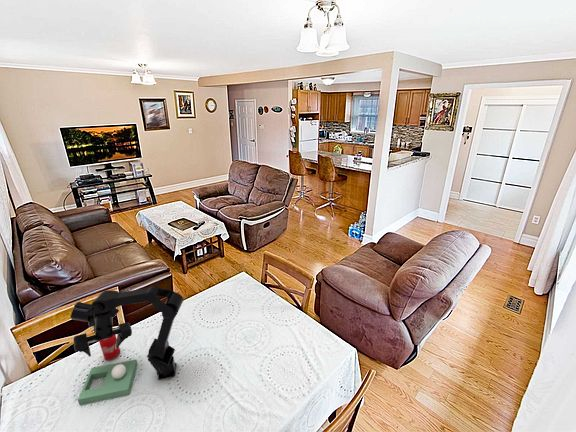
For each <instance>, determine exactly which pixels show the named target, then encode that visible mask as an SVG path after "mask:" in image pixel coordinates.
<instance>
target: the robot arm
mask: <svg viewBox="0 0 576 432" xmlns="http://www.w3.org/2000/svg"><path fill="white" fill-rule="evenodd" d="M159 297H165V298H167V299H166V300H165V303H164V302H163V301H161V299H160V298H159ZM146 302H148V303H150V304H152V306H153V307H154V308H155V309H156V311H158V312H160V313H161V316H162V322H161V325H160V328H159V331H158V335H157V338H154V339H153V341H152V343H151V344H150V347H149V349H148V351H147V352H148V353H147V356H146V358H147V361H148V362H149V363H150V364H151V366H152V367H153V368H154V370H155V371H156V375H157V380H165V379H168V378H173V377H176V368H177V362H176V361H175V358H174V353H175V352H176V349H175V348H174V347H172V346H170V343H169V337H170V334H171V330H172V327H173V325H174V321H175V318H176V317H177V315H178V313H179V311H180V309H181V307H182V305H183V303H184V297H183V296H182V295H181V294H180V293H178V292H175V290H172V289H167V288H161V287H158V286H156V285H153V286H152V285H151V286H150V287H145V288H140V289H139V288H138V289H134V290H128V291H121V292H120V291H117V290H104V291H102V292H101V293H100V294H99V295H98V296H97V297H96V298H95V299H94V301H92V303H85V302H81V301H77V302H76V303H75V304H74V308H73V309H72V311H71V314H70V320H74V321H80V322H88V323H87V324H88V327H89V328H92V327H93V333H94V335H91V336H88V335H87V333H86V332H85V333H82V334H77V335H75V336H73V348H74V352H77V353H78V352H79V353H82V352H83V353H85V354H86V355H87V356H88V357H92V354H91V350H90V345H89V344H91V343H95V342H99V341H100V340H103V339H107V338H110V337H112V335H117V336H116V338H117V341H116V348H118V347H119V348H120V345H121V344H123V342H124V341H125V340H127V339H128V338H129V337H131V336H132V334H133V329H132V325H131V324H130V322H129V321H127V322H123V323H119V324H118V325H117V327H115V328H113V326H114V325H113V323H114V322H113V320H114V319H113V318H115V317H117V314H118V313H119V312H120V309H118V307H123V306H128V305H134V304H141V303H146Z"/></svg>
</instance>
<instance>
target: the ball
mask: <svg viewBox="0 0 576 432" xmlns="http://www.w3.org/2000/svg"><path fill="white" fill-rule="evenodd" d="M125 372H126V367H125V366H124V365H122V364H119V365H116V366H115V367H114V368H113V369H112V372H111V374H112V377H113V378H116V379H118V378H121V377H122V376H123V375H124V374H125Z"/></svg>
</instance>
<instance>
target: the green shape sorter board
mask: <svg viewBox="0 0 576 432" xmlns="http://www.w3.org/2000/svg"><path fill="white" fill-rule="evenodd" d="M119 364H122V365H124V366H125V367H126V372H125V374H124V375H123V376H122V377H121V378H118V379H116V378H113V377H112V374H111V372H112V369H113V368H114V367H115V366H116V365H119ZM138 364H139V363H138V361H137V359H131V360H126V361H120V362H114V363H111V364H110V363H109V364H105V365H100V366H94V367H91V369H90V371H89V373H88V376H87V377H86V380H85V382H84V384H83V387H82V389H81V391H80V393H79V396H78V398H77V402H78V404H79V406H83V405H87V404H92V403H96V402H100V401H105V400H106V401H107V400H110V399H115V398H119V397H125V396H129V395H130V394H131V390H132V387H133V383H134V379H135V375H136V372H137V369H138ZM99 378H100V379H104V381H103V383H102V386H100V387H95V388H91V386H92V384H93V381H94V380H100V379H99Z"/></svg>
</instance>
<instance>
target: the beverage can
mask: <svg viewBox="0 0 576 432" xmlns="http://www.w3.org/2000/svg"><path fill="white" fill-rule="evenodd" d="M116 335H117V334H116ZM116 335H112V337H110V338H107V339H103V340H100V341H98V342H99V343H98V344H99V346H100V348H101V349H100V350H101V352H102V354H103V358H104V359H105V360H106V361H110V360H114V359H116V358H117V357H118V356H119V355H120V353H121V348H120V346H119V347H118V348H116V341H117V336H116Z"/></svg>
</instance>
